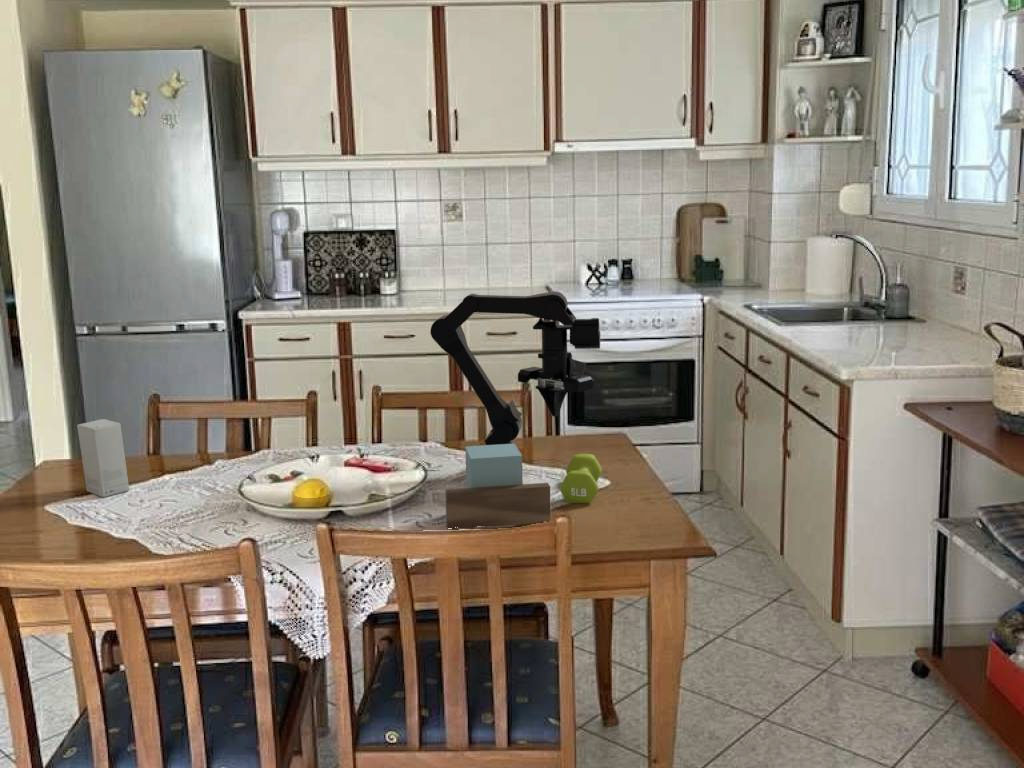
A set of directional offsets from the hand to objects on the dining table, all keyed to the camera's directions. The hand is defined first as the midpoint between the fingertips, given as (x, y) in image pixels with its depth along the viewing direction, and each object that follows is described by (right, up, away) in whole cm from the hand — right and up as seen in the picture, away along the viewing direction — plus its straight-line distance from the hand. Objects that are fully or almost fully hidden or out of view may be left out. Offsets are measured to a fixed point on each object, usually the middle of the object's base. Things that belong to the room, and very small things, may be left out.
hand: (555, 416), depth 225 cm
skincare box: (-100, -17, -6) cm, 101 cm away
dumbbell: (+5, -17, -14) cm, 22 cm away
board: (-12, -20, -33) cm, 41 cm away
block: (-13, -19, -28) cm, 36 cm away
